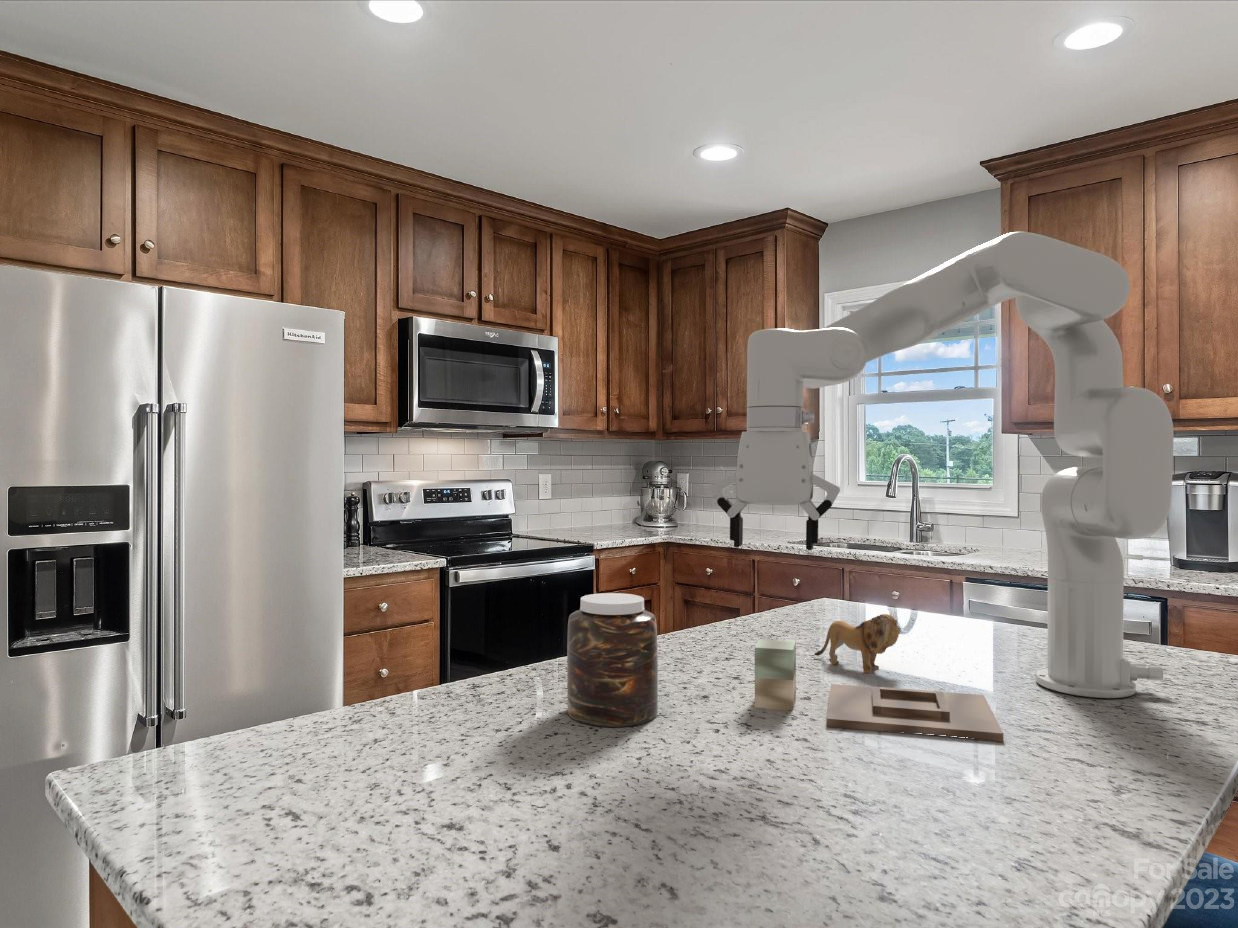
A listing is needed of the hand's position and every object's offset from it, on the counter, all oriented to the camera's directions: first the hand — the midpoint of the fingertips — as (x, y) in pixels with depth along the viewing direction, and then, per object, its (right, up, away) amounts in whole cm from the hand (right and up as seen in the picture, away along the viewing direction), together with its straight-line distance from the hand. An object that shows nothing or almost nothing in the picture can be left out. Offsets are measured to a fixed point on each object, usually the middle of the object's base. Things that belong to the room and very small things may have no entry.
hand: (773, 547), depth 112 cm
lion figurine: (+17, -21, +19) cm, 33 cm away
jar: (-22, -21, -5) cm, 31 cm away
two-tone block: (0, -21, -1) cm, 21 cm away
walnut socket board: (+17, -21, -5) cm, 27 cm away
